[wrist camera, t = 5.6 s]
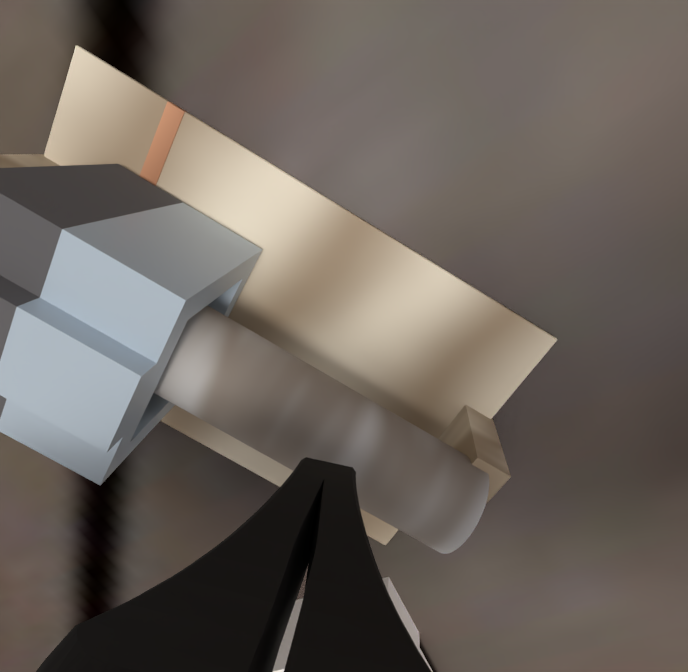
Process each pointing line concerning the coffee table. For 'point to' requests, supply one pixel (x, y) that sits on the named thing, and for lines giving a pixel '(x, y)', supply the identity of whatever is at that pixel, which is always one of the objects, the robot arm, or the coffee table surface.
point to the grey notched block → (57, 220)
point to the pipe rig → (315, 325)
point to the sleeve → (113, 331)
